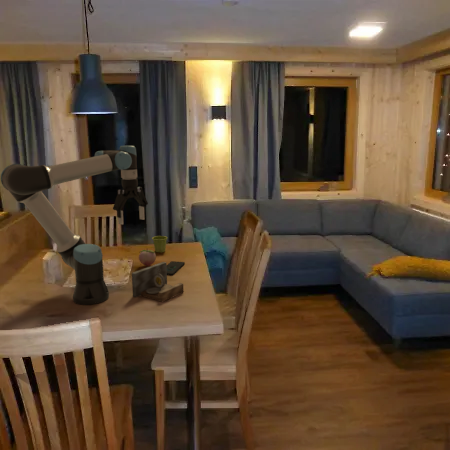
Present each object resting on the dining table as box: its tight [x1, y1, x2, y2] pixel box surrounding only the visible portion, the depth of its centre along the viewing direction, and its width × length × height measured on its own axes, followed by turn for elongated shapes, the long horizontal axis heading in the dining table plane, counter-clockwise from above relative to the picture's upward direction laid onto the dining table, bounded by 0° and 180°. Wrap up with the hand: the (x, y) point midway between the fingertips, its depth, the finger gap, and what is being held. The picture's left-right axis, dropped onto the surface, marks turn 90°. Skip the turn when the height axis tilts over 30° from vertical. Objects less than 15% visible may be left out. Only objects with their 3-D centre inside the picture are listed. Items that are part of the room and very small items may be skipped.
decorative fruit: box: [138, 249, 157, 267], centre depth 227 cm, size 9×8×10 cm
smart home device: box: [167, 260, 185, 277], centre depth 223 cm, size 8×2×20 cm
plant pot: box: [151, 235, 168, 253], centre depth 256 cm, size 9×9×9 cm
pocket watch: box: [146, 269, 165, 294], centre depth 186 cm, size 8×8×10 cm
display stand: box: [131, 261, 184, 303], centre depth 188 cm, size 20×15×11 cm
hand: (131, 221), depth 204 cm, fingers open, 13 cm apart
